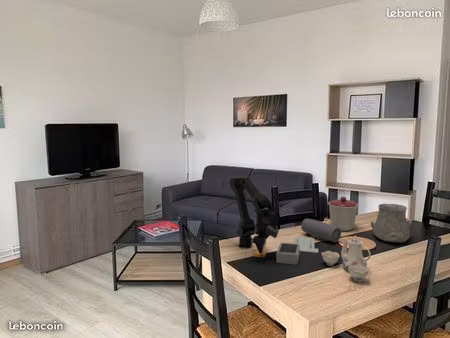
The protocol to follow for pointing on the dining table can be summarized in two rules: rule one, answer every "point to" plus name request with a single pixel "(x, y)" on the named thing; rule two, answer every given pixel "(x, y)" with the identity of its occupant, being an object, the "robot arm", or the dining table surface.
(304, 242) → the metal bracket
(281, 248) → the open box
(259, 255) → the wood grain brick
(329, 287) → the dining table surface
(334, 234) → the bluetooth speaker
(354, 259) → the chinaware
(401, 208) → the vessel
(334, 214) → the canister
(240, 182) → the robot arm
